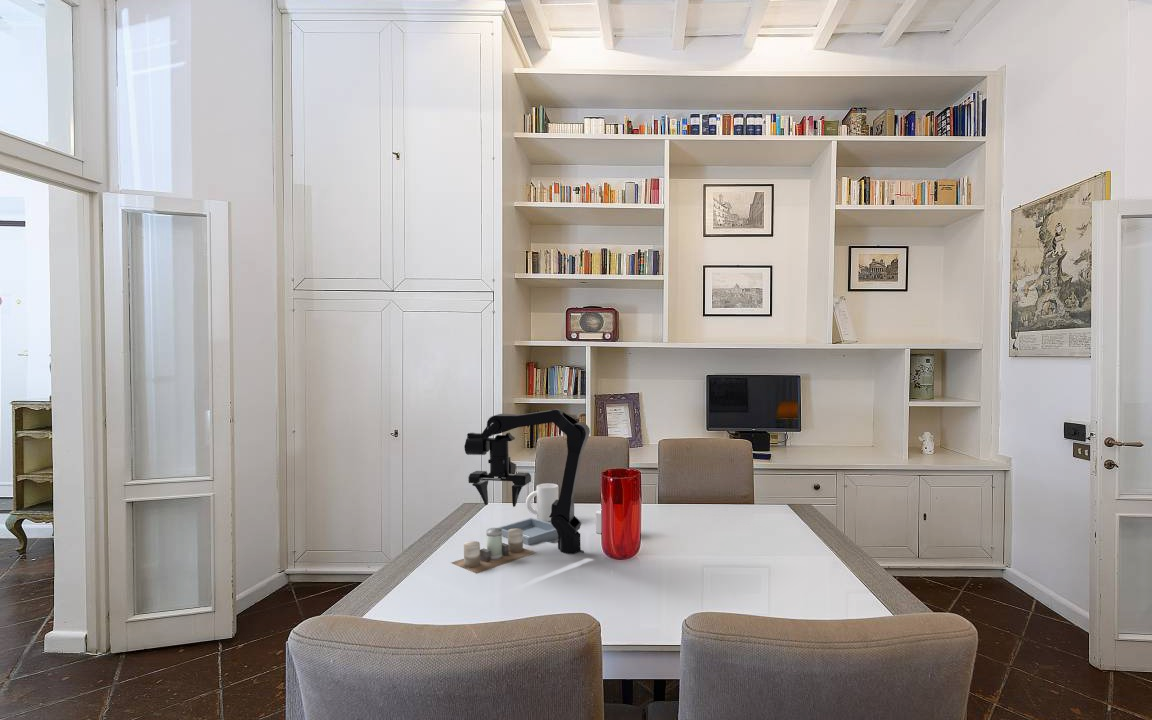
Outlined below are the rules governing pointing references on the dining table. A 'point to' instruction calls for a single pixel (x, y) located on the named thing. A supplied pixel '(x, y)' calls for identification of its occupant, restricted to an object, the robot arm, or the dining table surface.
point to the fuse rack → (480, 558)
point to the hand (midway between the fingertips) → (500, 505)
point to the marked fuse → (494, 543)
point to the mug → (543, 500)
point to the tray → (532, 530)
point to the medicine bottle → (598, 520)
